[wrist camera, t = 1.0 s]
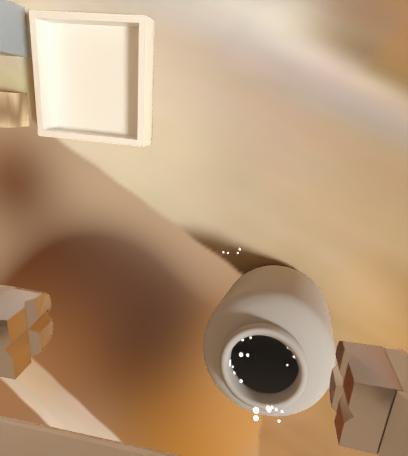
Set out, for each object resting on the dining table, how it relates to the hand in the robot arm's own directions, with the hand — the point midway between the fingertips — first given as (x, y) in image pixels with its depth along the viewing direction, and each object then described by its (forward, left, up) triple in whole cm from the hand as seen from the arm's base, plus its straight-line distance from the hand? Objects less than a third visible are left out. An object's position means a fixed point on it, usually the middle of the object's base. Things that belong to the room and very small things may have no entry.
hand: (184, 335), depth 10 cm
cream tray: (-7, -22, -41) cm, 47 cm away
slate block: (-13, -36, -41) cm, 56 cm away
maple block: (-3, -36, -41) cm, 54 cm away
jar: (+20, +4, -41) cm, 46 cm away
